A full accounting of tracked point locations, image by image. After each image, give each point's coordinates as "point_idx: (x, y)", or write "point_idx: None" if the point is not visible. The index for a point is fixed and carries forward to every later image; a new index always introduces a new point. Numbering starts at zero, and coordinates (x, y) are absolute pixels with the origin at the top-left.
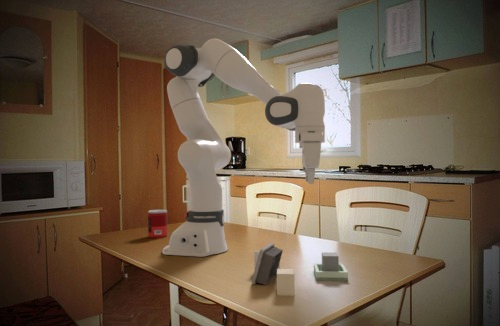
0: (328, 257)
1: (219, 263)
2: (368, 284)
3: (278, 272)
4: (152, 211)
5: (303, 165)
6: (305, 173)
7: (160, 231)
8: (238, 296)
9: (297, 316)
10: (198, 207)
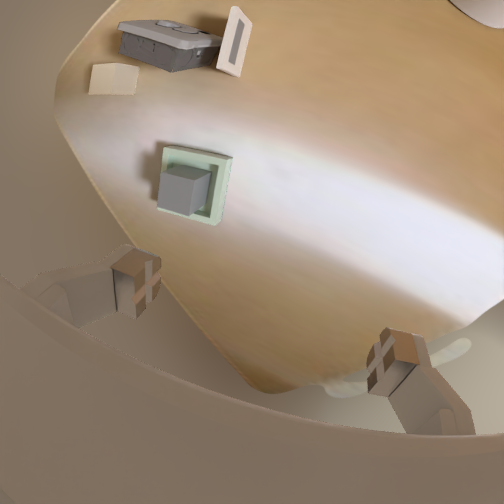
0: (161, 183)
1: None
2: (148, 230)
3: (98, 66)
4: None
5: (352, 442)
6: (435, 384)
7: None
8: (124, 12)
9: (62, 96)
10: None
